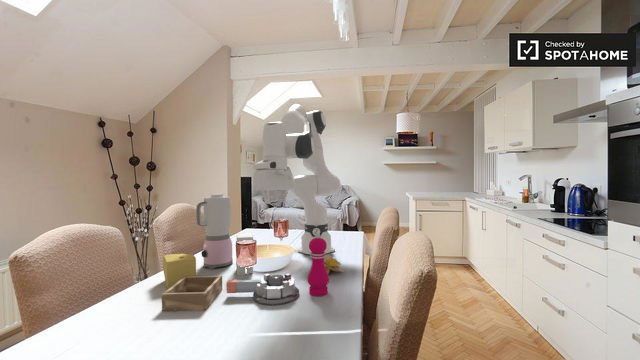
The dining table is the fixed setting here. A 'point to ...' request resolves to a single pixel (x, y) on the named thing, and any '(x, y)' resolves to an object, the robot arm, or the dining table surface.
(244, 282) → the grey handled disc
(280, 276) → the domed metal lid
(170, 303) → the square wooden frame
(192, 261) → the cheese
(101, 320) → the dining table surface
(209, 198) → the blender
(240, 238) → the skincare box
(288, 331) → the dining table surface
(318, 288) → the pepper mill
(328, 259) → the decorative flower
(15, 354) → the dining table surface
